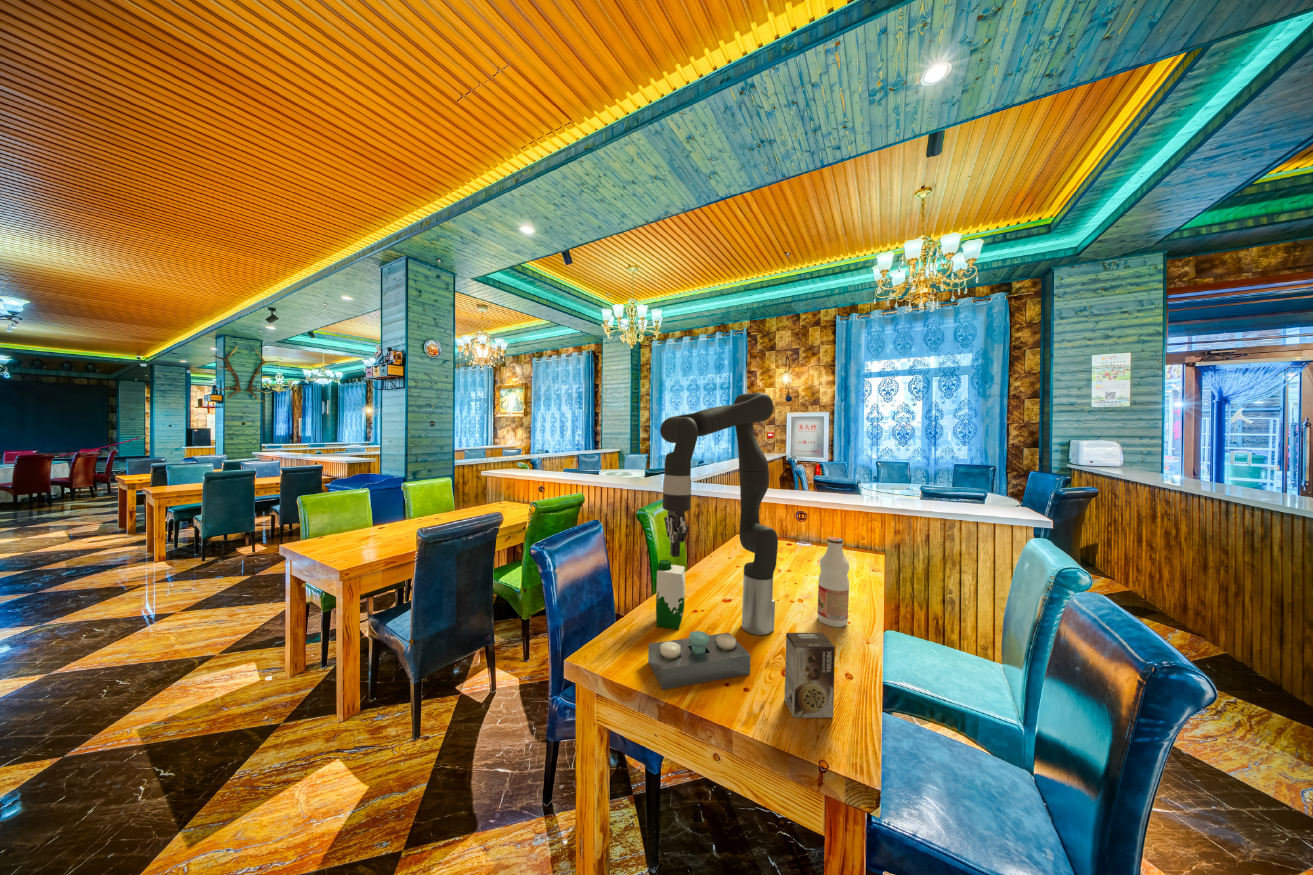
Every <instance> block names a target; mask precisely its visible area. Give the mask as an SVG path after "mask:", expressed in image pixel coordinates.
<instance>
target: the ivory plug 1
mask: <svg viewBox="0 0 1313 875" xmlns="http://www.w3.org/2000/svg"><path fill="white" fill-rule="evenodd" d="M663 642H664V643H662V644H661V646H660V654H661V655H662V656H663V658H664V659H665V660H667V659H674V658H677V657H678V656H680V649H681V647H680V645H679V644H677V643H675V642H665V641H663Z"/></svg>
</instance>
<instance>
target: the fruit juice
mask: <svg viewBox="0 0 1313 875" xmlns="http://www.w3.org/2000/svg"><path fill="white" fill-rule="evenodd" d="M826 540H827V541H826V542H827V548H826V551H825V553H824V554H823V555H822V556H821V558H820V560H819V567H820V574H819V576H818V585H817V586H818V588H817V591H818V592H817V619H818V621H819V622H820V623H822V624H824V625H826V626H829V627H833V628H844V627H846V626H847V625H848V622H849V621H848V620H849V597H850V596H849V594H850V591H849V590H850V580H849V578H848V574H849V572H850V563H849V561H848V559H847V557H846V556H845V553H844V550H843V545H844V539H843V538H840V537H836V536H828V537H827V538H826ZM845 625H846V626H845ZM843 626H844V627H843Z"/></svg>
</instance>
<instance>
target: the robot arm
mask: <svg viewBox="0 0 1313 875" xmlns="http://www.w3.org/2000/svg"><path fill="white" fill-rule="evenodd" d="M773 412H774V402H773V399H772V398H771V396H770V395H768V394H767V393H764V392H748V393H742V394H741V393H740V394H738V395H737V396H736V398H735V400H734V402H733V404H728V405H720V406H715V407H714V406H713V407H709V408H706V409H702V410H699V411H696V412H691V413H688V414H680V415H675V416H670V417H668V418H666V419H665V420H663V422H662V423H661V425H660V428H659V433H660V436H661V438H662V439H663V440H664V441H666V442H667V443H671V444H675V445H674V448H673V451H671V452H668V453H667V454H665V457H664V473H663V474H664V476H663V481H662V482H663V483H662V485H663V486H662V508H663V510H665V511H667V516H665V517H664V518H663V521H664V525H665V531H666V535H667V538H669V539H668V540H669V542H670V552H669V553H670V556H671V557H672V558H679V557H681V556H680V555H681V544H682V543H684V542H685V540H686V537H687V536H688V533H689V531H690V526H689V525H686V513H685V512H688V511H690V510H691V502H692V479H691V478H692V475H691V474H692V473H691V472H692V458H693V455H694V451H695V449H696V444H697V441H698V437H704V436H708V435H711V434H714V433H717V432H719V431H722V430H726V429H729V428H732V427H733V428H734V427H735V432H736V440H737V452H738V478H739V489H740V490H739V491H740V494H739V495H740V519H739V541H740V545H741V547H742V548H743V549H744V550H746V551H748V552H751V553H753V554H754V558H753V561H749V562H747V563H745V564H744V566H743V579H742V580H743V582H742V583H743V584H742V586H743V587H742V607H741V608H742V609H741V611H742V612H741V613H742V614H741V628H742V629H743V631H745V632H747V633H749V634H752V635H756V636H766V635H769V634H770V633H771V632H773V631H775V614H776V613H775V611H776V600H774V599H773V598H774V594H773V593H774V572H775V570H776V568H777V561H778V560H777V559H778V548H779V537H778V534H777V532H776V530H774V528H772V527H769V526H766V525H763V524H761V521H760V507H761V503H762V501H763V499H764V497H765V495H766V494H767V491H768V489H769V485H770V470H769V463H768V462H769V461H768V460H767V458H766V456H765V453H764V452H763V450H762V448H761V447H760V445H759V443H758V441H757V439H756V435H755V429H754V423H763V422H765V421H766V422H767V420H769V419H770V418H771V417H772V415H773Z"/></svg>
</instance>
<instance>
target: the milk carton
mask: <svg viewBox="0 0 1313 875" xmlns="http://www.w3.org/2000/svg"><path fill="white" fill-rule="evenodd" d="M685 574H686V573H685V566H683V565H677V564H672V561H670V560H668V559H660V560H659V561H658V567H657V571H656V597H655V598H656V599H655V615H656V616H655V618H656V628H662V629H669V630H677V631H679V630H680V627H681V623H682V620H683V617H684V616H683V615H684V612H685V611H684V610H685V600H686V599H685V594H686V575H685Z"/></svg>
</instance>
